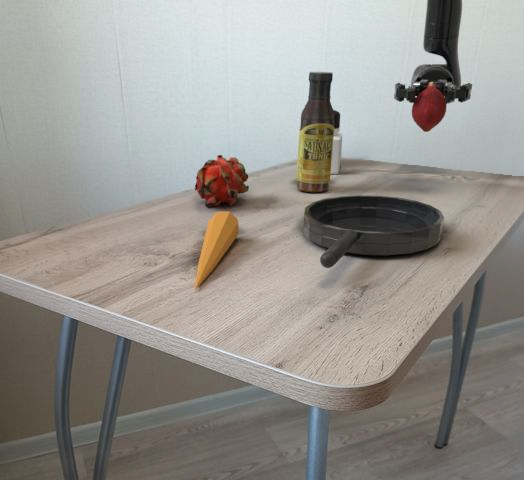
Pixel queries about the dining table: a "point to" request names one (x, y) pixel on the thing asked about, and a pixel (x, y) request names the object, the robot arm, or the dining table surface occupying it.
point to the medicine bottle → (336, 145)
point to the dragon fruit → (221, 181)
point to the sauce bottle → (316, 136)
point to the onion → (429, 108)
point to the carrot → (216, 242)
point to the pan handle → (339, 249)
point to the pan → (374, 224)
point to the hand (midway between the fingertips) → (430, 96)
